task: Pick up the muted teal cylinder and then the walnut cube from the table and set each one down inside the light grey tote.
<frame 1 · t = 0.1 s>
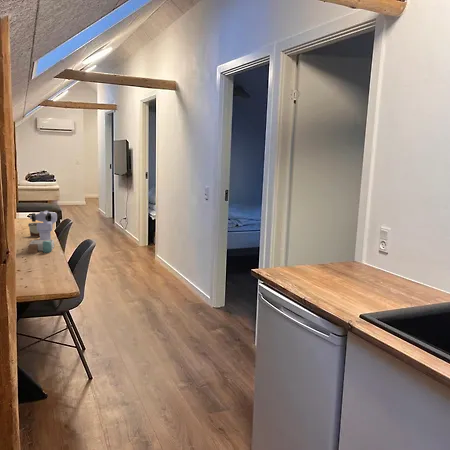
hand: (39, 218, 293), 22 cm above the table, tool horizontal, fingers open, 7 cm apart
food container: (38, 236, 346), on the table
walnut cube: (33, 252, 291), on the table
tote: (42, 249, 301), on the table
teal cylinder: (47, 252, 293), on the table
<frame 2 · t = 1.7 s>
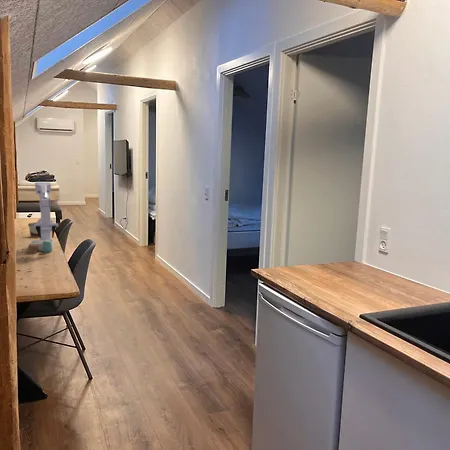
hand: (46, 237, 291), 10 cm above the table, tool pointing down, fingers open, 7 cm apart
nothing on the table moved.
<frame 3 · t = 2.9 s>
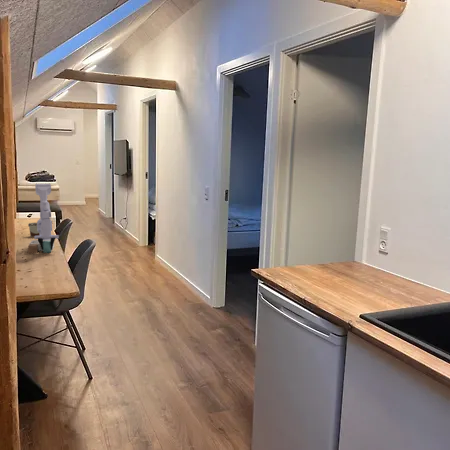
hand: (47, 249, 292), 2 cm above the table, tool pointing down, fingers closed on teal cylinder, 5 cm apart
teal cylinder: (47, 251, 293), on the table, touching gripper
everything else where it was.
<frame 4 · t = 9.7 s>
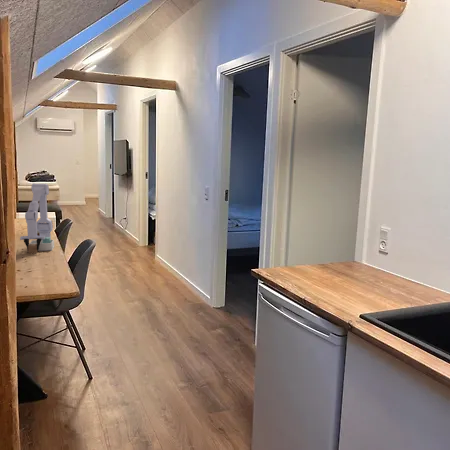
hand: (33, 250, 290), 1 cm above the table, tool pointing down, fingers closed on walnut cube, 5 cm apart
walnut cube: (33, 252, 291), on the table, touching gripper
teal cylinder: (46, 248, 301), resting on tote
everything else where it was.
when the fingers open (4 cm above the table, at t = 13.3 s): walnut cube drops 2 cm, resting on tote.
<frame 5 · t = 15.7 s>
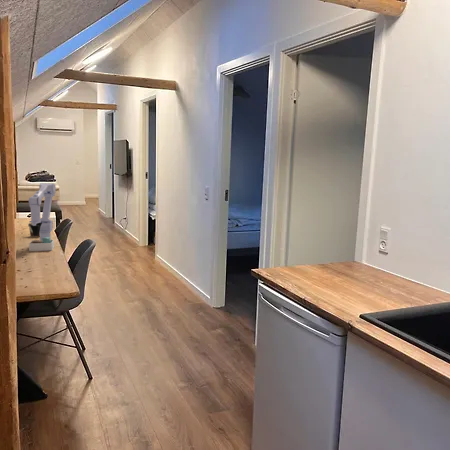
hand: (36, 234, 299), 10 cm above the table, tool pointing down, fingers open, 7 cm apart
walnut cube: (37, 248, 300), resting on tote
everything else where it was.
at the end: teal cylinder inside the target area on the tote (2.9 cm from its centre), point 0.5 cm above the tote's base; walnut cube inside the target area on the tote (3.1 cm from its centre), point 0.5 cm above the tote's base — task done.
